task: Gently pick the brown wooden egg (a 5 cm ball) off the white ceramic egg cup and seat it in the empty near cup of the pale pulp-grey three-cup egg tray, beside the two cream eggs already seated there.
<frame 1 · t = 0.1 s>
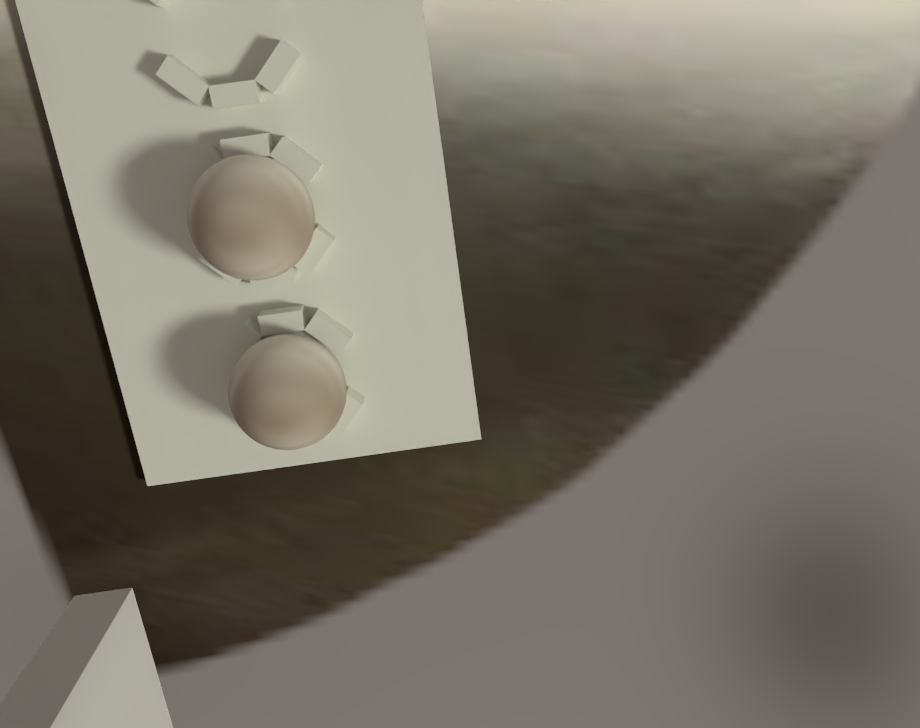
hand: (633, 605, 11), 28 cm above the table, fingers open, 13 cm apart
tray: (265, 208, 37), on the table
egg cream mid: (263, 210, 36), point 1 cm above the table, touching tray
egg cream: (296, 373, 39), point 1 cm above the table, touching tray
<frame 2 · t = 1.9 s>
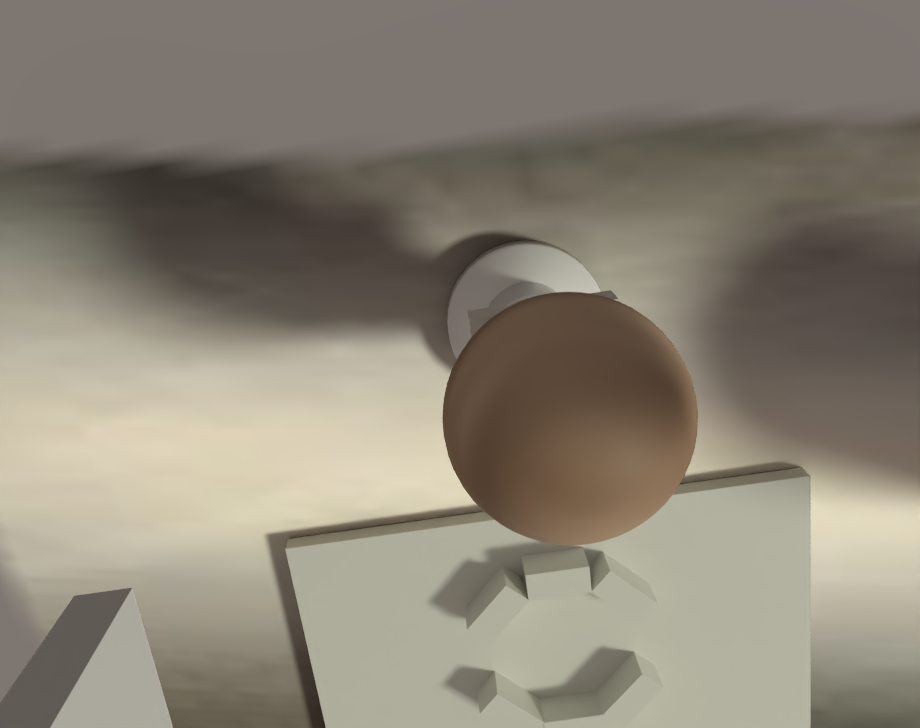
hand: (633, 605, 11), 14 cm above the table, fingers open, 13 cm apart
egg cup: (523, 317, 24), on the table
egg: (549, 376, 19), point 5 cm above the table, touching egg cup
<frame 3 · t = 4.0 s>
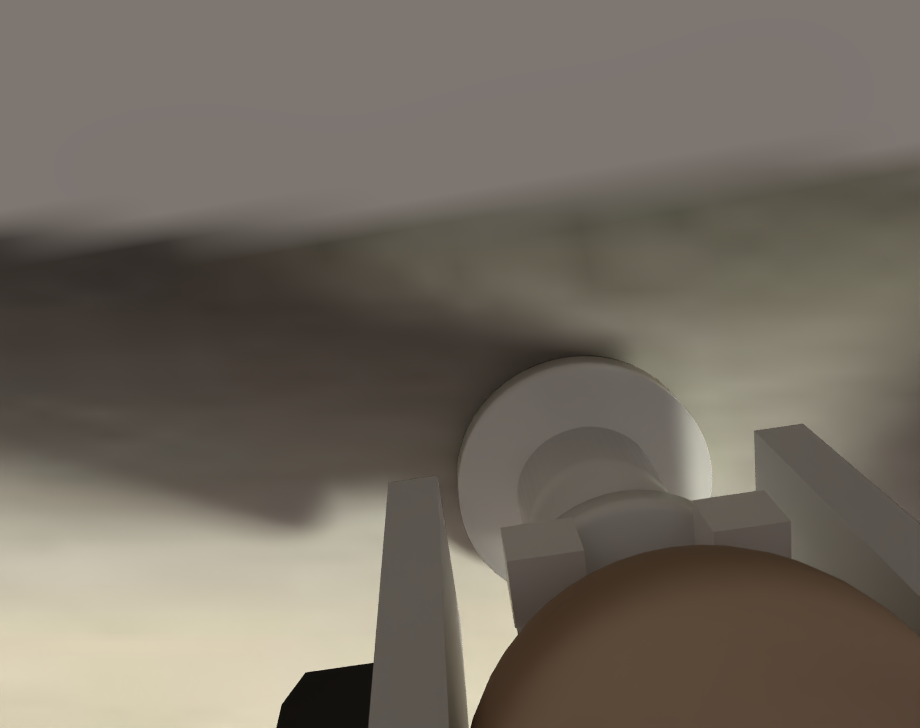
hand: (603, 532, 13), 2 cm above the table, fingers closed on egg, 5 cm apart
egg cup: (577, 471, 15), on the table
egg: (652, 648, 10), point 5 cm above the table, touching egg cup, gripper
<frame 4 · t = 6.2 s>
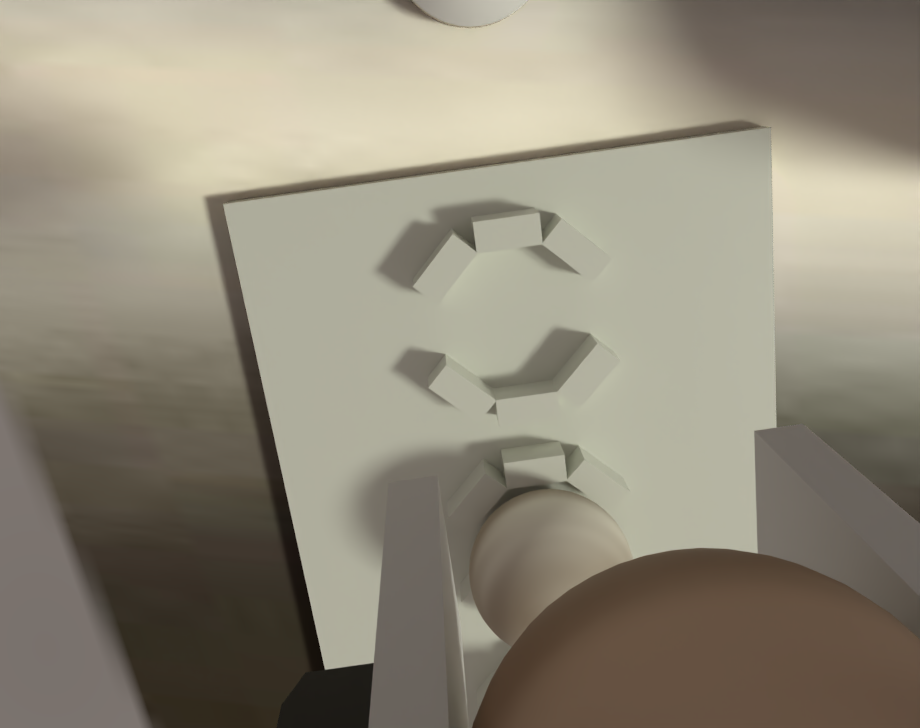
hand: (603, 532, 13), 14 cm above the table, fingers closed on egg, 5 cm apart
tray: (537, 522, 29), on the table
egg cream mid: (539, 531, 28), point 1 cm above the table, touching tray
egg: (653, 651, 10), point 17 cm above the table, touching gripper
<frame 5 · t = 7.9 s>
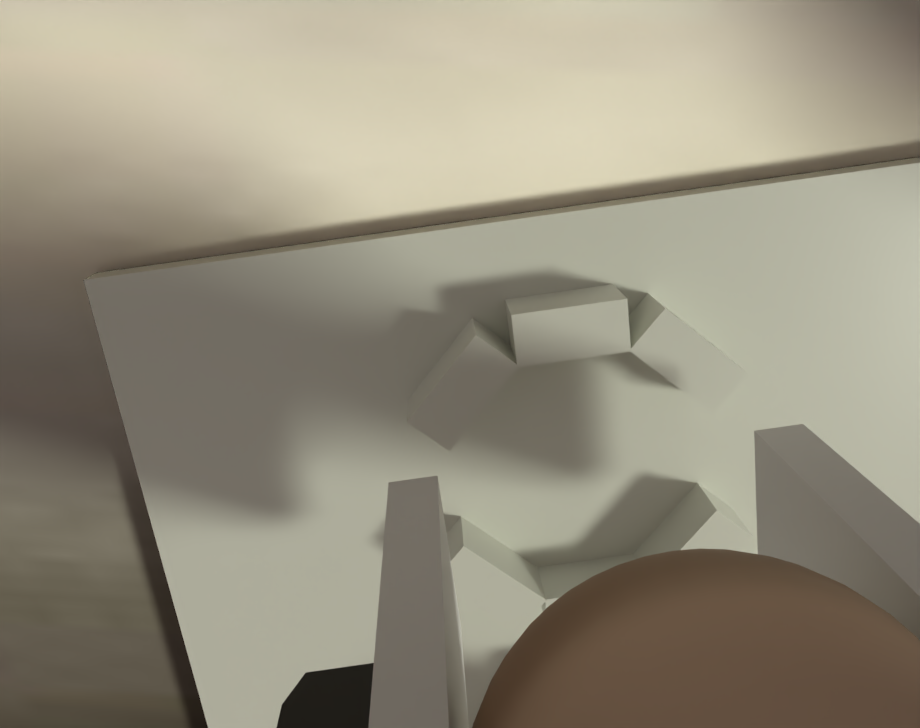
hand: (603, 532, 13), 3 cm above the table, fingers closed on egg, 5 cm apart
egg: (653, 652, 10), point 6 cm above the table, touching gripper
when the fingers open (3 cm above the table, at t = 8.8 s): egg drops 5 cm, resting on tray.
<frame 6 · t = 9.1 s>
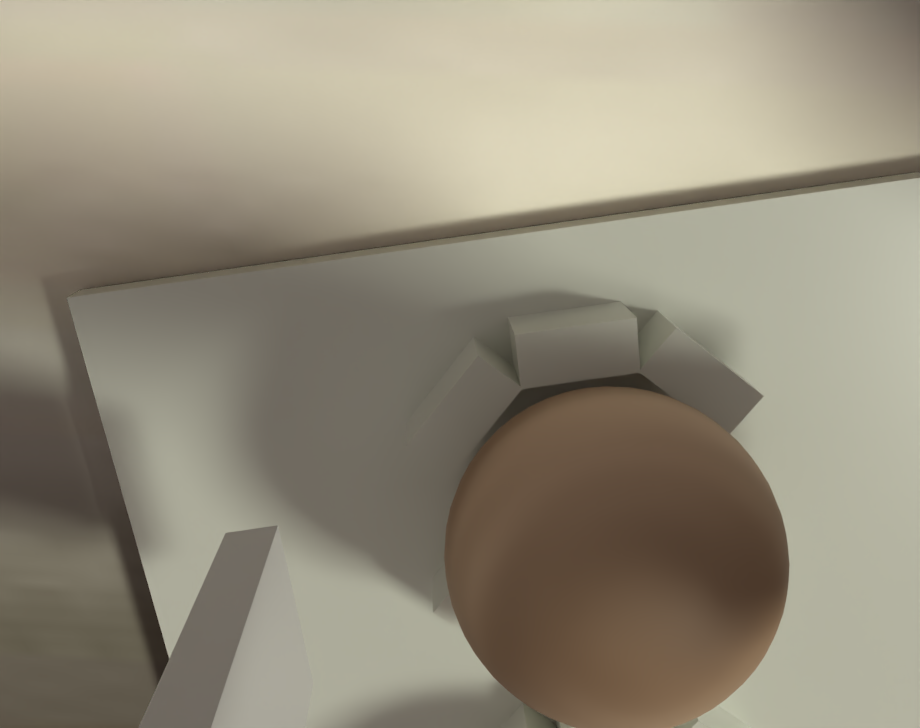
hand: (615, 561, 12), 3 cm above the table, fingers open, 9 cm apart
egg: (580, 480, 15), point 1 cm above the table, touching tray
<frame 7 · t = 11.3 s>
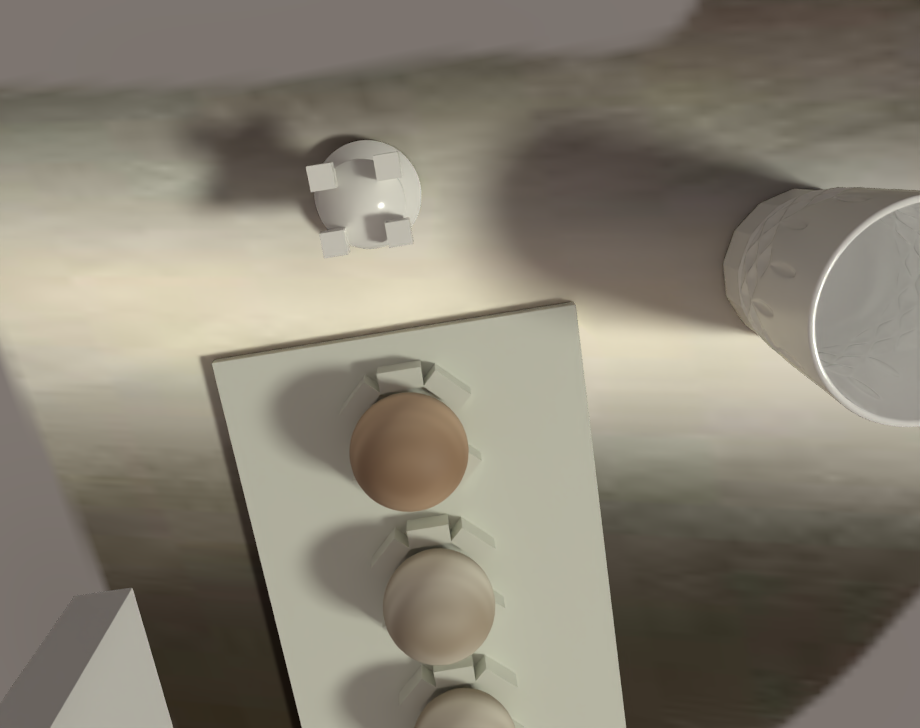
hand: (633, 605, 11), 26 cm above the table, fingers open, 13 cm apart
tray: (437, 570, 40), on the table
egg cream mid: (438, 576, 40), point 1 cm above the table, touching tray
egg cup: (369, 193, 35), on the table
egg: (411, 430, 38), point 1 cm above the table, touching tray
white cup: (794, 264, 37), on the table
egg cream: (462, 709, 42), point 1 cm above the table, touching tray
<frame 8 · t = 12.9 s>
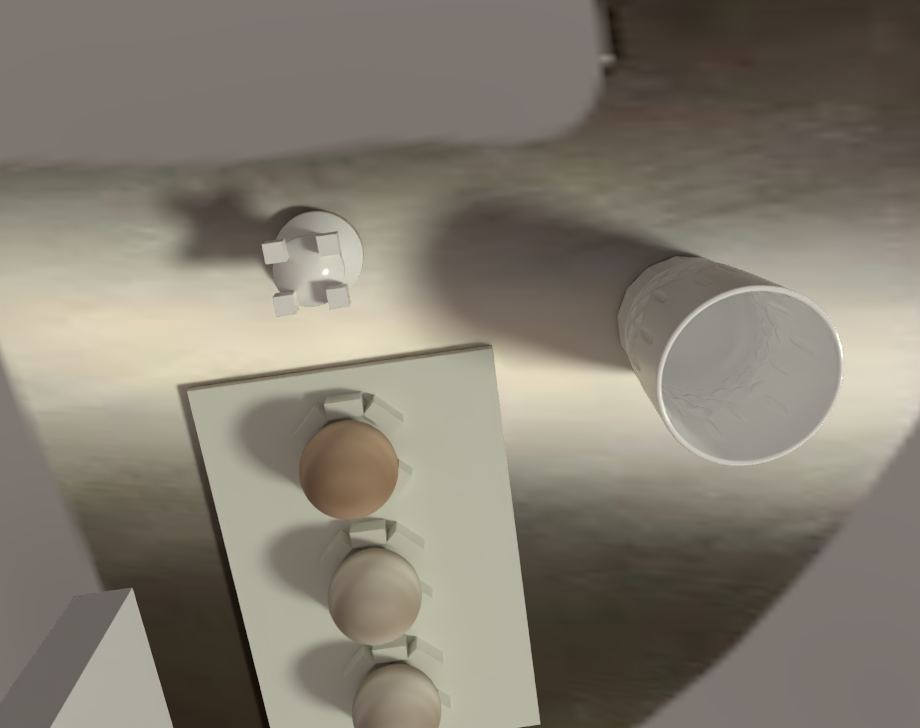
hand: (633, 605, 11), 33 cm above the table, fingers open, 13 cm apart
tray: (377, 565, 48), on the table
egg cream mid: (377, 570, 47), point 1 cm above the table, touching tray
egg cup: (319, 254, 42), on the table
egg: (354, 449, 45), point 1 cm above the table, touching tray
white cup: (678, 317, 45), on the table
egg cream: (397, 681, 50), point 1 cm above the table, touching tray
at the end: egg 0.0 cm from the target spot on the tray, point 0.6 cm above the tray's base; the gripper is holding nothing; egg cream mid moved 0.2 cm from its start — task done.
